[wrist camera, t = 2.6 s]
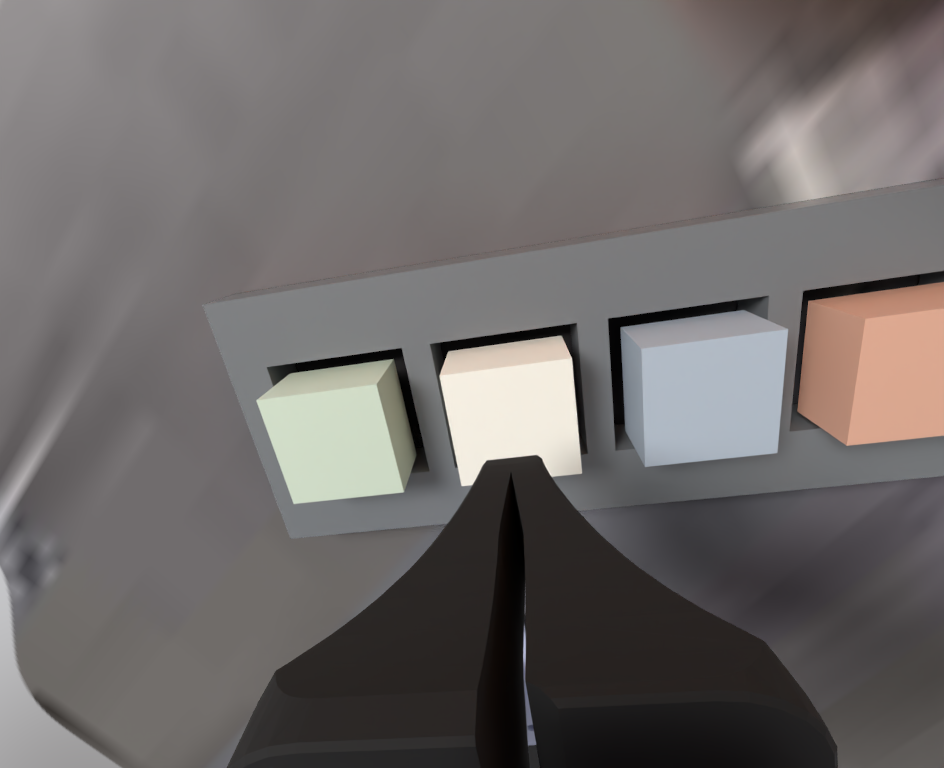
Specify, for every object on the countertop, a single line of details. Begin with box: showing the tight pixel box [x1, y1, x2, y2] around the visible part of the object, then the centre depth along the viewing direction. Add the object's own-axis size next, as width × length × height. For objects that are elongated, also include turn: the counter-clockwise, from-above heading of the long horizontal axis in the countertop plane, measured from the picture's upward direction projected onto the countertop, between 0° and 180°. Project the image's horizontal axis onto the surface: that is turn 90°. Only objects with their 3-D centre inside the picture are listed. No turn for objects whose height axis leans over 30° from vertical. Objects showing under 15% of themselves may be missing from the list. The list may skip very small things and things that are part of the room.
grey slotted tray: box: [202, 178, 944, 539], centre depth 17 cm, size 10×26×2 cm, turn 99°
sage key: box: [256, 359, 417, 504], centre depth 16 cm, size 4×4×2 cm
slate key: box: [620, 310, 788, 467], centre depth 15 cm, size 4×4×2 cm
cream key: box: [440, 336, 582, 486], centre depth 16 cm, size 4×4×2 cm
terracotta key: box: [797, 282, 944, 446], centre depth 14 cm, size 4×4×2 cm
